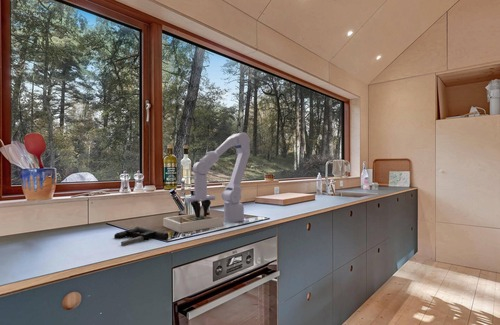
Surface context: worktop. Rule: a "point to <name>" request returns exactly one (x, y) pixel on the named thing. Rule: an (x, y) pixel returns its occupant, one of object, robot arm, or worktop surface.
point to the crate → (193, 218)
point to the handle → (201, 213)
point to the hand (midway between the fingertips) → (200, 216)
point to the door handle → (140, 235)
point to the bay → (191, 223)
